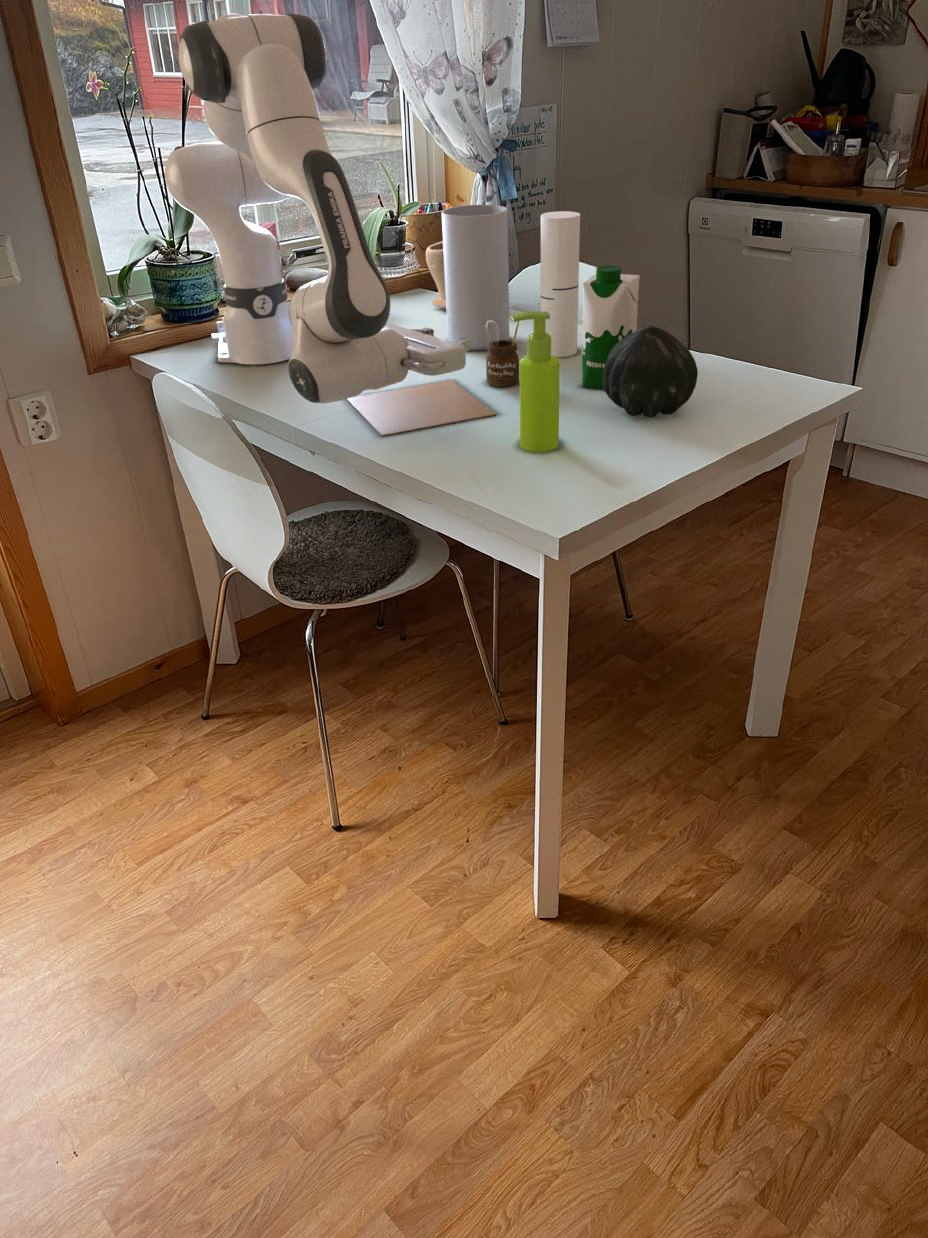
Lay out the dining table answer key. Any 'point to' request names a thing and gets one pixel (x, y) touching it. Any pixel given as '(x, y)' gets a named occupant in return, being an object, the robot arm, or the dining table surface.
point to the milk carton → (606, 318)
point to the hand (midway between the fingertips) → (449, 338)
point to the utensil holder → (502, 361)
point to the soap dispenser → (538, 388)
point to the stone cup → (437, 271)
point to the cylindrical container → (560, 279)
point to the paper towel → (419, 407)
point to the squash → (650, 373)
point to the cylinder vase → (476, 273)
